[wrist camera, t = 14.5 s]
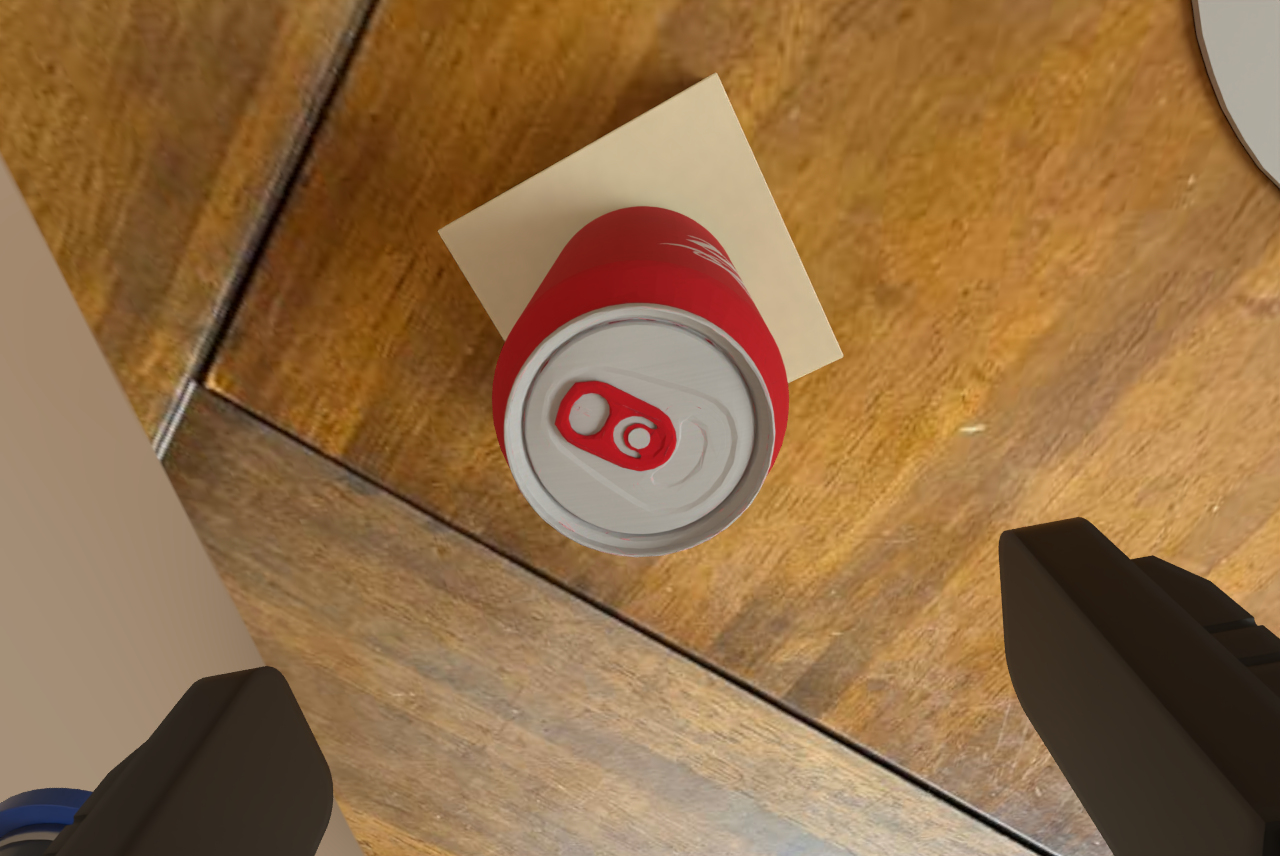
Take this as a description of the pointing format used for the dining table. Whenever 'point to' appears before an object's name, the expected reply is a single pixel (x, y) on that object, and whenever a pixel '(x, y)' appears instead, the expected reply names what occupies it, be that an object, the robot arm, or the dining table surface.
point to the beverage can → (640, 388)
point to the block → (657, 177)
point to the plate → (1245, 71)
